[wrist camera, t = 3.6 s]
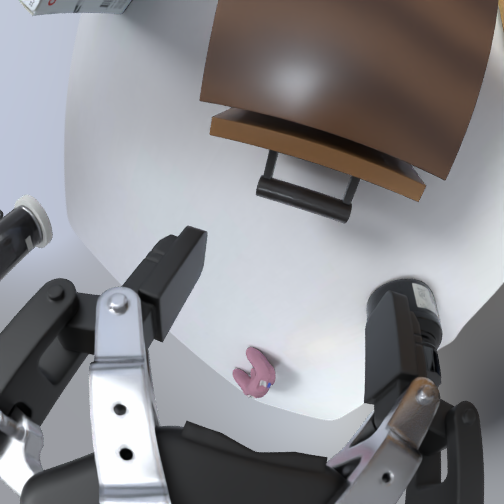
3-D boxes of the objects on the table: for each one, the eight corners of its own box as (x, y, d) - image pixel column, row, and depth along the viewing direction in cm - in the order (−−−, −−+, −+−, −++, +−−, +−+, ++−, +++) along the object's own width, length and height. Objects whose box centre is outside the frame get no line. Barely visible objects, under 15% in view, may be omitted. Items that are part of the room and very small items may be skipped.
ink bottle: (432, 321, 33) (445, 399, 23) (371, 333, 36) (371, 411, 27) (431, 266, 28) (457, 352, 19) (360, 281, 32) (361, 370, 22)
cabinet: (405, 137, 22) (445, 181, 13) (247, 87, 23) (198, 101, 14) (445, -6, 12) (501, -33, 4) (282, -57, 13) (252, -113, 5)
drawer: (374, 204, 25) (387, 261, 18) (237, 161, 26) (200, 202, 19) (437, 17, 13) (483, 0, 6) (280, -33, 14) (255, -75, 7)
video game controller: (254, 369, 51) (261, 403, 46) (230, 370, 50) (237, 405, 45) (273, 344, 45) (283, 383, 40) (246, 345, 43) (255, 385, 39)
